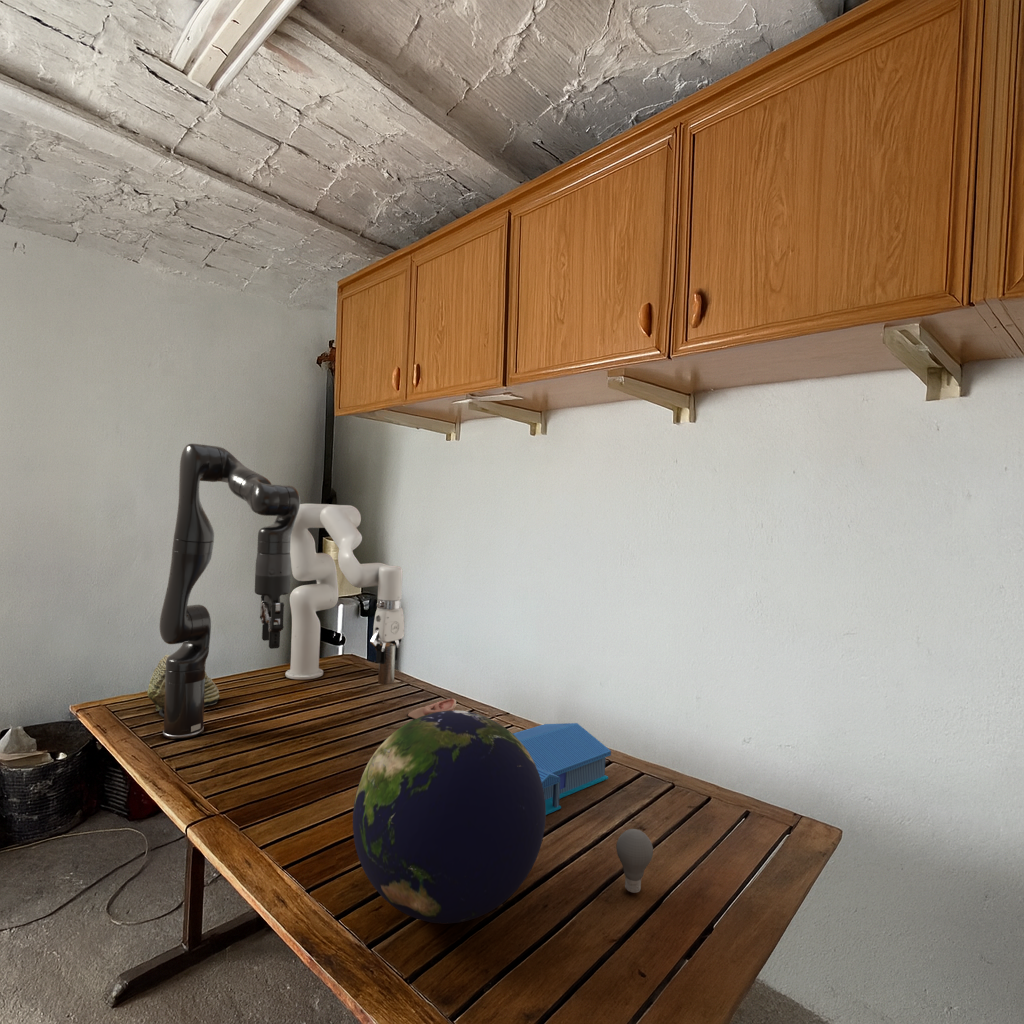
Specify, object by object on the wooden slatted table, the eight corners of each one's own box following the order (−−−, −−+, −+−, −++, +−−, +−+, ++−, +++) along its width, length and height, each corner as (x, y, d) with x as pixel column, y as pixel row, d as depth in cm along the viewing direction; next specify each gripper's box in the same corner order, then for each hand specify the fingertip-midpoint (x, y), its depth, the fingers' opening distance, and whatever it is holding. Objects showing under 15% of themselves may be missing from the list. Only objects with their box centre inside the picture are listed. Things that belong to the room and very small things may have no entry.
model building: (490, 838, 120) (492, 786, 120) (417, 791, 138) (419, 745, 138) (619, 783, 146) (621, 740, 146) (544, 749, 164) (545, 711, 164)
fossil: (144, 707, 182) (145, 655, 182) (212, 696, 194) (213, 647, 194) (151, 716, 175) (153, 662, 175) (221, 703, 188) (223, 653, 188)
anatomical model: (404, 704, 182) (418, 693, 193) (403, 718, 182) (417, 706, 193) (448, 710, 180) (460, 697, 191) (448, 723, 180) (459, 711, 191)
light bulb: (610, 879, 108) (613, 822, 108) (644, 879, 109) (647, 822, 109) (619, 902, 102) (622, 840, 102) (655, 901, 103) (658, 840, 103)
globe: (306, 934, 92) (314, 729, 91) (413, 836, 119) (420, 678, 119) (495, 1005, 80) (505, 771, 80) (565, 878, 108) (573, 704, 108)
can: (388, 685, 199) (389, 647, 199) (374, 683, 201) (376, 645, 200) (396, 681, 203) (398, 644, 203) (383, 679, 205) (385, 642, 205)
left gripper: (297, 576, 139) (294, 649, 139) (284, 568, 151) (281, 636, 152) (260, 577, 135) (258, 652, 136) (250, 569, 148) (247, 638, 148)
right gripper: (379, 609, 192) (376, 669, 193) (415, 603, 207) (413, 658, 207) (361, 606, 196) (358, 664, 197) (398, 600, 211) (395, 654, 211)
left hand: (270, 644), depth 144 cm, fingers open, 8 cm apart
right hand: (386, 660), depth 202 cm, fingers closed on can, 5 cm apart
